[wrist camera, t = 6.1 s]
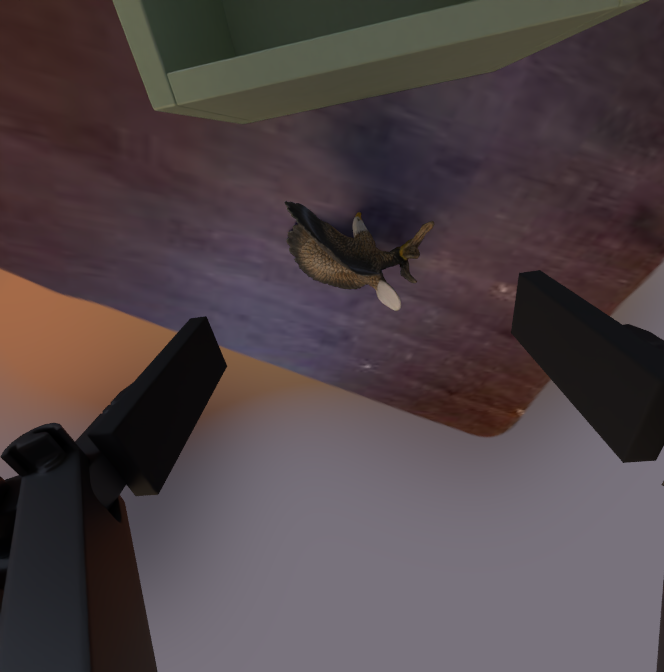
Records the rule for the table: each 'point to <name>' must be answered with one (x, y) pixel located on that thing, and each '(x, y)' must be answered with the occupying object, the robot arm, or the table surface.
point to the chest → (331, 48)
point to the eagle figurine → (348, 254)
